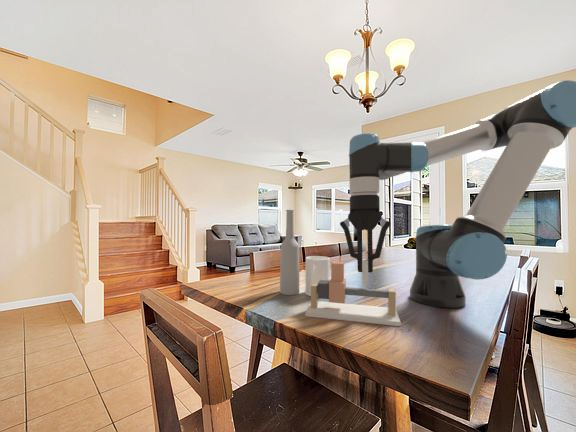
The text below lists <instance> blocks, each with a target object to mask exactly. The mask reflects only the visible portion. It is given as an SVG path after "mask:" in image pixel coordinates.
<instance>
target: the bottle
mask: <svg viewBox="0 0 576 432" xmlns="http://www.w3.org/2000/svg"><path fill="white" fill-rule="evenodd" d="M285 211H286V218H285V219H286V224H285V225H286V228H285V238H284V240H283V241H282V242H281V244H280V253H279V254H280V255H279V256H280V257H279V259H280V263H279V266H280V267H279V270H280V271H279V274H280V275H279V293H280V294H281V295H283V296H296V295H299V294H300V244H299V243H298V242H297V240H296V239H295V229H294V222H295V221H294V215H295V214H294V211H295V210H294V209H286V210H285Z"/></svg>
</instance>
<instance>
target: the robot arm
mask: <svg viewBox="0 0 576 432" xmlns="http://www.w3.org/2000/svg"><path fill="white" fill-rule="evenodd" d="M573 128H576V81H574V80H561V81H558V82H555V83H553V84H549V85H547V86H545V87H543V89H541V90H539V91H536V92H535V93H533V94H531V95H529V96H527V97H525V98H523V99H521V100H519V101H517V102H515V103H513V104H510V105H509V106H507V107H505V108H504V109H502V110H500V111H498V112H496V113H494V114H492V115H490V116H488V117H486V118H485V117H484V118H482V119H479V120H478V121H476V122H475V123H474V125H471V126H468V127H465V128H461V129H459V130H455V131H452V132H449V133H446V134H443V135H440V136H436V137H433V138H430V139H427V140H425V141H420V142H413V141H411V142H380V137H379V135H377V134H376V133H361V134H357V135H354V136H352V137H351V138H350V140H349V149H348V150H349V152H348V158H349V161H348V162H349V164H348V165H349V194H350V197H349V213H348V216H347V218H345V219H344V220H343V221H340V222H339V225H340V227H341V228H342V230H343V232H344V236H345V240H346V245H347V248H348V252H349V254H350V257H351V258H354V259H356V260H357V272H358V273H361V274H362V275H361V278H362V280H361V281H362V283H361V285H362V286H363V287H369V273H371V274H372V273H373V270H374V267H373V266H374V264H373V263H374V262H373V261H374V260H376V259H379V258H380V257H381V254H382V250H383V246H384V241H385V238H386V234H387V230H388V228H389V227H390V226H391V221H389V220H387V219H385V218H383V216H382V213H381V212H380V211H381V210H380V208H381V207H380V196H379V195H378V194H379V193H380V181H382V180H384V181H385V180H388V179H390V178H393V177H396V176H399V175H403V174H405V173H414V172H415V173H416V172H421V171H424V169H425V168H426V167H428V166H430V165H433V164H437V163H440V162H444V161H446V160H450V159H454V158H457V157H460V156H463V155H466V154H469V153H473V152H477V151H479V150H481V151H483V152H488V151H490V150H494V149H497V148H502V147H503V148H504V150H503V151H502V153H501V155H500V156H499V158H498V160H497V161H496V163H495V165H494V167H493V168H492V170H491V171H490V173H489V175H488V177H487V178H486V179H485V183H483V185H482V187H481V189H480V190H479V192H478V194H477V196H476V197H475V199H474V201H473V202H472V203H471V206H470V208H469V209H468V210H467V212H466V214H465V215H462V216H461V215H460V216H459V217H456V218H455V220H454V222H453V224H432V225H429V224H428V225H421V226H419V227H418V228H417V229H416V235H415V275H414V278H413V281H412V282H411V283H412V284H411V286H410V289H409V298H410V299H411V300H413V301H414V302H417V303H419V304H422V305H427V306H432V307H438V308H450V309H452V308H454V309H456V308H463V307H464V306H466V302H467V300H466V295H465V291H464V288H463V286H462V282H461V281H460V277H461V278H465V279H470V280H476V281H477V280H479V281H480V280H485V279H490V278H491V277H494V276H495V275H497V274H499V272H500V271H501V270H502V269H503V267H504V266H505V264H506V261H507V258H508V254H507V253H506V251H507V248H506V245H505V241H506V239H507V236H506V234H505V232H504V228H505V227H506V225H507V223H508V222H509V221H510V218H511V216H512V214H513V213H514V211H515V210H516V208H517V206H518V205H519V203H520V201H521V200H522V197H523V196H524V195H525V193H526V191H527V189H528V188H529V186H530V184H531V183H532V181H533V179H534V177H535V176H536V174H537V173H538V171H539V169H540V167H541V165H542V164H543V162H544V161H545V158H546V157H547V155H549V152H550V150H552V149H555V148H557V147H560V146H561V145H562V144H563V143H564V141H565V140H566V138H567V136H568V135H569V133H570V131H571V130H572V129H573ZM350 223H351V224H352V226H353V227H354V228H355V230H356V237H357V239H356V240H357V241H356V242H357V243H356V245H357V248H356V249H357V251H356V250H355V248H354V247H355V246H354V242H353V240H352V239H353V238H352V235H351V231H350V229H349V227H350ZM379 223H380V224H379ZM378 224H379V225H380V227H381V228H380V231H379V234H378V239H377V240H378V241H377V244H376V247H375V252H374V253H373V250H374V249H373V245H374V244H373V230H374V229H375V228H376V226H378ZM363 231H366V232H367V235H366V236H367V237H366V238H367V258H363ZM355 251H356V252H355Z"/></svg>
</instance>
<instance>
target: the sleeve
mask: <svg viewBox="0 0 576 432" xmlns="http://www.w3.org/2000/svg"><path fill="white" fill-rule="evenodd" d="M330 263H331V265H330V282H329V299H328V302H332V303H343V304H344V303H345V304H346V296H347V295H345V287H347V286H346V285H347V283H346V282H347V279H346V278H345V262H341V261H340V262H339V261H332V262H330Z"/></svg>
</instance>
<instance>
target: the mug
mask: <svg viewBox="0 0 576 432" xmlns="http://www.w3.org/2000/svg"><path fill="white" fill-rule="evenodd" d="M330 259H331V258H330V257H328V256H323V255H322V256H321V255H310V256H306V257H305V289H304V294H305V295H306V296H309V297H311V285H312V284H318V283H319V281H320V280H329V281H330V280H331V265H330V263H331V260H330Z"/></svg>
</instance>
